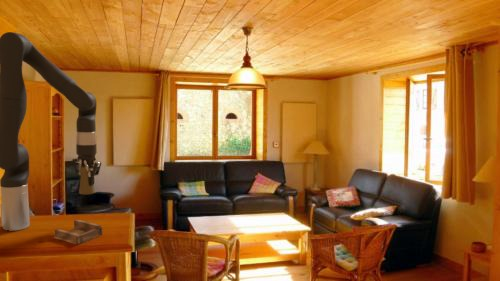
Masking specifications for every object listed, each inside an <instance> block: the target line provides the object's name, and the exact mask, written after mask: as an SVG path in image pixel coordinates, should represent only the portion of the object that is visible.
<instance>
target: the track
mask: <svg viewBox="0 0 500 281" xmlns="http://www.w3.org/2000/svg"><path fill="white" fill-rule="evenodd" d="M102 235H103V227H102V225H101V224H97V223H94V222H89V221H84V220H80V219H74V220H73V228H72V229H69V230H63V229H61V228H56V229H54V236H53V239H56V240H60V241H63V242H67V243H71V244H75V245H77V246H79V245H81V244H84V243H87V242H88V241H91V240H93V239H96V238H99V237H100V236H102Z"/></svg>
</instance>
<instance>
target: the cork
mask: <svg viewBox="0 0 500 281" xmlns="http://www.w3.org/2000/svg"><path fill="white" fill-rule="evenodd" d="M92 168H93V167H92ZM92 168H89V169H92ZM92 171H93V170H92ZM92 171H91V173H92ZM80 173H81V180H80V179H79V189H78V194H80V195H92V194H95V193H96V192H95V191H96V190H95V184H94V185H93V186H89V182H88V177H89V176H88V171H87V170H86V167H85V166H82V167H81V168H80Z"/></svg>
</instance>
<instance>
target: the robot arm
mask: <svg viewBox="0 0 500 281" xmlns="http://www.w3.org/2000/svg"><path fill="white" fill-rule="evenodd" d="M23 63H25V64H26V65H29V66H30V67H31V68H32V69H34V71H36V72H37V73H38V74H39V75H40V76H41V77H42V79H44V81H45V82H46V83H47V84H48V85H50V86H51V87H52V88H53V89H55V90H56V91H57V92H58V93H60V94H61V95H63V96H64V97H65V98H66V99H67V101H68V102H70V103H71V104H72V105H73V106H74V108H77V110H78V113H77V114H78V116H77V118H76V122H75V124H76V135H75V145H76V146H75V152H76V154H75V155H77V158H76V157H75V158H72V160H71V161H72V164H73V168H74V173H75V174H78V175H79V181H80V180H81V173H80V168H81V167H82V166H85V167H86V170H87V171H88V176H89V177H88V182H89V186H93V185H94V186H95V176H99V175H100V170H101V166H102V162H101V161H98V160H97V159H96V154H97V153H98V152H97V133H96V132H97V130H96V115H97V114H96V113H97V98H96V96H95V95H94V94H93V93H92V92H89V91H85V90H84V89H83V88H82V87H80V86H79V85H78V83H77V82H76V80H74V79H73V78H71V76H69V75H68V74H67V73H65V72H64V71H63V70H61V69H60V68H59V67H58V66H57V65H55V64H54V63H53V62H51V61H50V60H49V59H48V58H46V56H44V55H43V53H41V52H40V50H38V48H36V46H35V45H34V44H33V43H32V42H31V41H30V40H29V38H27V36H25V35H23V34H21V33H17V32H14V31H9V32H8V31H7V32H4V33H3V34H1V36H0V169H1V170H3V171H4V172H3V175H2V176H1V178H0V199H1V201H0V202H1V203H0V220H1V222H0V223H1V227H2V229H3V230H4V231H7V230H9V232H10V231H12V232H14V231H21V230H24V229H27V228H29V227H30V224H31V223H30V206H29V204H30V203H29V187H28V186H29V185H28V184H29V183H28V179H29V176H30V156H29V151H28V149H27V148H26V146H24V145H23V144H21V143H19V134H20V130H21V127H22V126H23V123H24V119H25V117H26V114H27V102H28V101H27V100H28V94H27V89H26V85H25V79H24V77H23ZM92 167H93V168H92ZM89 168H92V169H89ZM92 170H93V171H92ZM91 171H92V173H91Z"/></svg>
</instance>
